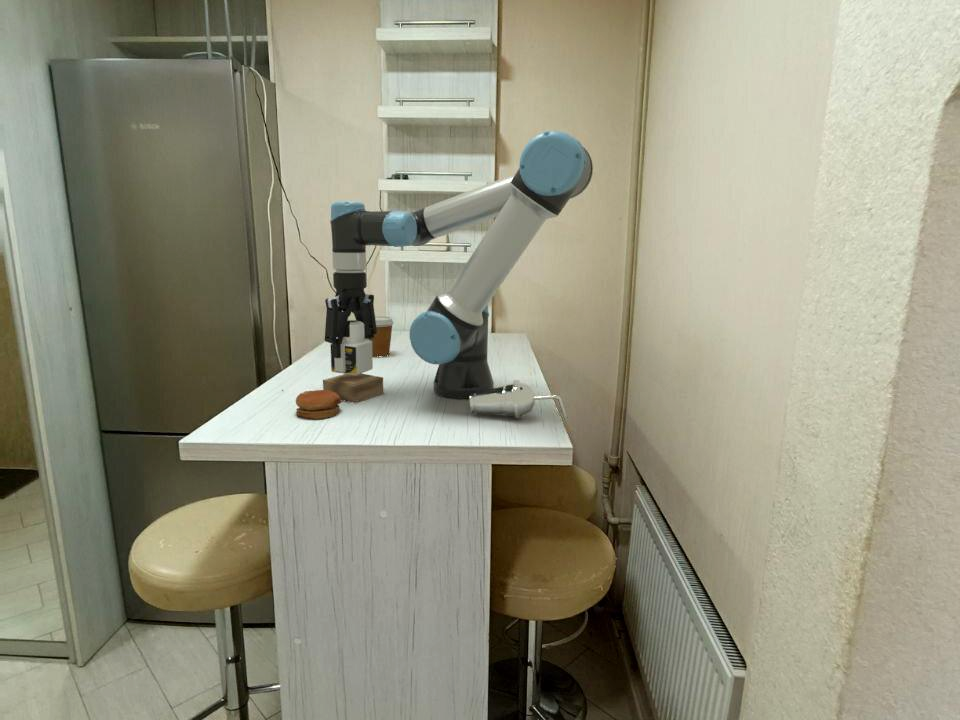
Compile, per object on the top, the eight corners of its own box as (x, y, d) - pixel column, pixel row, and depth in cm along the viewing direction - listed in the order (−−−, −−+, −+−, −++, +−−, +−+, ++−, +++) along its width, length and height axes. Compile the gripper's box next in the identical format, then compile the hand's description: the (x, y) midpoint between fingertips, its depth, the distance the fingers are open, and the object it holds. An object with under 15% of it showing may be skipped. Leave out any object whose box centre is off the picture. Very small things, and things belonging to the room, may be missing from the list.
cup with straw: (475, 384, 126) (564, 377, 121) (477, 424, 125) (567, 419, 120) (466, 382, 117) (561, 374, 113) (468, 425, 116) (564, 419, 112)
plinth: (383, 393, 136) (383, 376, 135) (354, 403, 128) (354, 385, 127) (353, 387, 141) (352, 370, 140) (323, 396, 133) (322, 379, 132)
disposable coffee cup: (388, 359, 174) (387, 321, 171) (359, 357, 175) (358, 319, 173) (398, 353, 183) (397, 316, 180) (371, 351, 184) (370, 315, 182)
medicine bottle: (330, 372, 131) (329, 322, 129) (348, 366, 138) (347, 318, 135) (356, 375, 129) (355, 324, 126) (373, 369, 135) (372, 320, 133)
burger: (333, 421, 116) (332, 399, 115) (289, 420, 116) (287, 398, 115) (346, 407, 126) (345, 387, 125) (305, 406, 126) (304, 386, 125)
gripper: (367, 268, 139) (370, 358, 144) (303, 272, 121) (308, 374, 126) (391, 270, 135) (392, 361, 140) (328, 274, 118) (332, 378, 123)
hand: (352, 367), depth 133 cm, fingers closed on medicine bottle, 8 cm apart
